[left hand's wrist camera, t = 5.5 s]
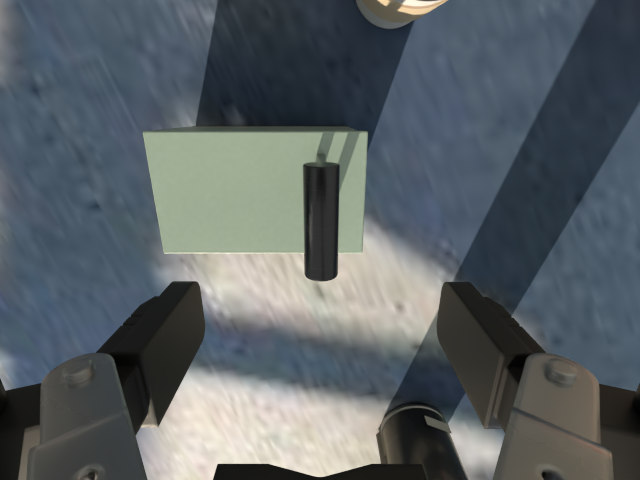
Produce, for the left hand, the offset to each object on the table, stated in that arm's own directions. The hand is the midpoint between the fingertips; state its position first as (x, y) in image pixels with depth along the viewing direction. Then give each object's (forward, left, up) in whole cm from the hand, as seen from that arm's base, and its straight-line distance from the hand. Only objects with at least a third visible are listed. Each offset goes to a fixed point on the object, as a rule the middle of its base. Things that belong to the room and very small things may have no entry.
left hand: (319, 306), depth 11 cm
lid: (-3, +4, -17) cm, 17 cm away
